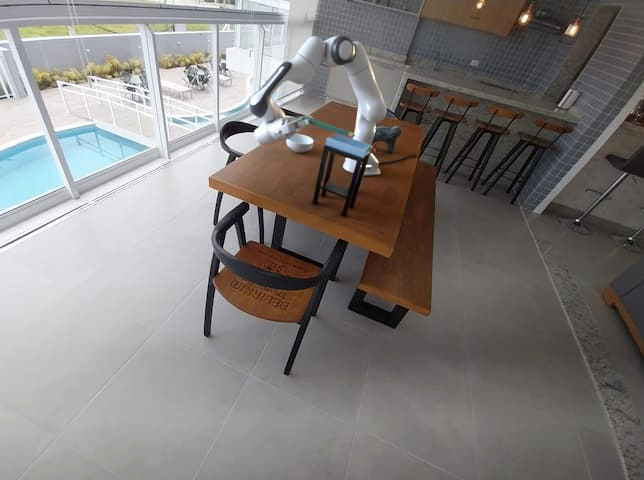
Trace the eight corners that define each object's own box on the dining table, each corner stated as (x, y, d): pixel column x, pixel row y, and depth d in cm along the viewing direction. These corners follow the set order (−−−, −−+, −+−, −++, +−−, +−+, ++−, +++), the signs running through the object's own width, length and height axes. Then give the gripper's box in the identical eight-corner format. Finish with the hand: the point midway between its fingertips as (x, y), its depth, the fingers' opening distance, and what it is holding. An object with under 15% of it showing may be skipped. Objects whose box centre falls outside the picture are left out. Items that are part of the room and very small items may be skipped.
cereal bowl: (309, 158, 182) (311, 146, 177) (282, 152, 182) (283, 140, 178) (313, 148, 194) (315, 136, 189) (288, 142, 195) (289, 131, 190)
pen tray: (325, 144, 126) (327, 137, 124) (333, 140, 131) (334, 133, 129) (363, 157, 121) (365, 150, 119) (369, 152, 126) (371, 145, 124)
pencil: (301, 120, 128) (301, 117, 127) (303, 119, 130) (304, 116, 129) (353, 138, 122) (353, 134, 121) (355, 136, 123) (356, 133, 122)
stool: (312, 203, 143) (323, 145, 125) (322, 194, 150) (334, 139, 132) (345, 216, 138) (361, 159, 120) (353, 207, 146) (370, 151, 128)
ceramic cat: (393, 151, 210) (404, 121, 197) (394, 155, 206) (405, 124, 192) (365, 146, 210) (374, 115, 197) (365, 149, 205) (375, 118, 192)
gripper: (269, 126, 127) (296, 116, 119) (293, 116, 141) (319, 107, 133) (274, 141, 129) (301, 133, 121) (297, 131, 144) (323, 123, 136)
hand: (310, 120), depth 127 cm, fingers closed on pencil, 2 cm apart
